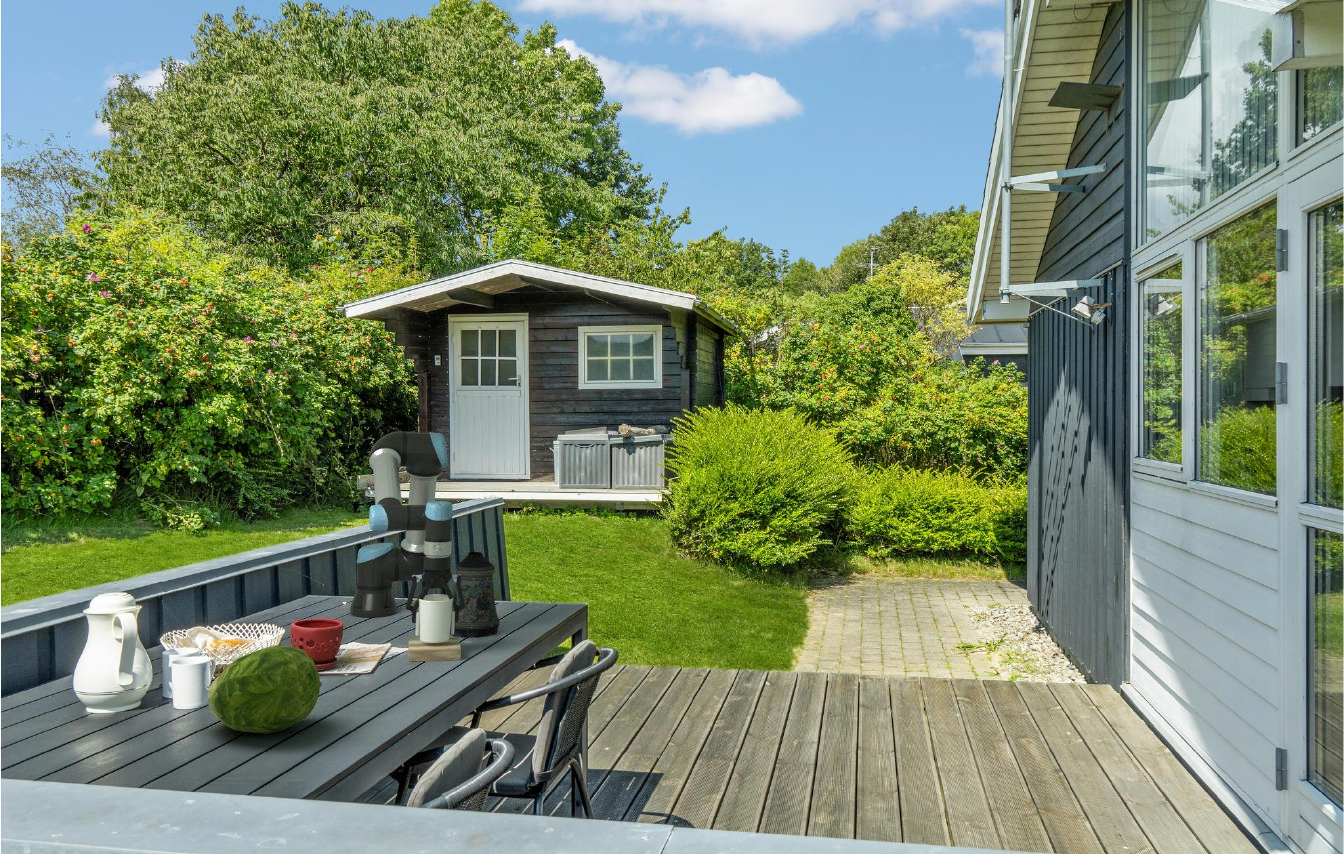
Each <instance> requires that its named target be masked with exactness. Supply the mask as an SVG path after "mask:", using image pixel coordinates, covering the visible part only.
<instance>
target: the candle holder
mask: <svg viewBox="0 0 1344 854" xmlns="http://www.w3.org/2000/svg"><path fill="white" fill-rule="evenodd" d="M452 608H453V598H452V599H450V600H449V598H448V596H447V594H443V593H442V594H441V593H439V594H437V593H434V594H433V593H432V594H426V595H425V597H424V599H423V600H421V599H419V608H418V611H419V631H418V636H419V639H420V640H421V641H422V642H427V643H440V642H445V641H448V640H449V638H451V637H450V636H451V635H450V629H451V619H452Z"/></svg>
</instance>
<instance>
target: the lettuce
mask: <svg viewBox="0 0 1344 854" xmlns="http://www.w3.org/2000/svg"><path fill="white" fill-rule="evenodd" d="M320 690H321V678H320V673H319V671H317V668H316V666H315V663H314V661H313V660H312V659H311V657H310V656H309V655H308V654H307V653H305V652H304V651H303V650H301V649H300V648H296V647H292V646H291V645H285V644H277V645H270V646H268V647H264V648H260V649H258V650H255V651H252V652H250V653H247V654H244V655H243V656H240V657H238V659H235V660H233V661H231V663H230V664H229V665H228V666H227V667H225V668H224V670H223V671H222V672H221V673H220V674H219V675H218V676H217V677H216V678H215V680H214V681H213V682H212V683H211V684H210V688H209V690H208V692H207V704H208V707H209V709H210V712H211V714H212V715H214V716H215V717H216V718H217V719H218V720H219V721H221V722H222V723H223V725H225V726H226V727H227V728H230V729H232V730H233V731H238V732H239V731H240V732H245V733H252V732H253V733H254V734H256V733H257V734H263V735H265V734H267V735H270V734H269V733H271V734H274V733H275V734H276V733H279V732H282V731H284V730H286V729H289V728H292V726H294V725H296V724H297V723H299V722H301V721H303V720H305V719H307V718H308V717H309V716H310V714H311V712H313V710H314V708H315V707H316V704H317V701H318V698H319V696H320Z"/></svg>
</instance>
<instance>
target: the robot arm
mask: <svg viewBox="0 0 1344 854" xmlns="http://www.w3.org/2000/svg"><path fill="white" fill-rule="evenodd" d="M368 456H369V459H368V461H369V466H370V467H371V470H373V471H372V472H373V485H374V487H373V488H374V502H375V504H374V505H371V506H370V507H369V512H368V513H369V514H368V515H369V516H368V518H369V519H368V527H369V529H370V530H371V531H375V532H377V531H378V532H402V531H406V533H405V538H404V539H403V540H402V541H401V543H400V547H399V546H397V547H395V545H394V543H392V542H378V543H372V544H367V545H364V546H362V547H361V548H359V550H358V552H357V559H356V564H357V570H356V586H355V587H356V591H355V594H354V595H353V598H352V601H351V603H350V605H349V608H350V609H349V610H350V611H349V614H350V615H351V616H354V617H355V616H356V617H361V618H381V617H382V618H383V617H387V616H392V615H395V614H396V613H397V609H398V605H397V602H396V599H395V595H394V591H393V583H394V582H412V583H411V585H410V586H411V587H410V590H409V594H408V597H407V601H406V604H405V610H406V611H410V612H411V623H412V624H415V636H419V599H421V600H423V599H424V597H425V595H427V594H428V592H429V590H430V589H431V590H432V589H433V590H434V589H439V590H440V589H443V590H444V592H445V593H446V594H445V595H447V596H448V598H449V600H450V599H452V598H453V608H454V610H452V619H451V635H450V636H452V634H454V622H458V620H459V611H460V610H461V609H465V602H464V597H463V593H462V588H461V575H460V574H456V573H455V574H453V572H452V571H451V569H452V568H451V566H452V565H451V564H452V557H451V556H450V555H451V554H452V537H453V536H452V533H453V516H454V512H453V508H454V507H453V504H452V502H450V501H445V500H436V490H437V478H438V477H439V476H441V475H442V473H443V471H442V470H443V469H445V468H447V467H448V449H447V442H446V438H445V436H444V434H442V433H440V432H432V431H429V432H428V431H392V432H389V433H387V434H385V435H383V436H382V437H380V438H379V439H378V440H377V441H376V442H375V443H374V444H373V446H372V447H371V450H370V451H369V455H368ZM400 467H401V468H405V472H406V474H408V475H409V490H408V492H409V493H408V502H407V503H408V504H403V501H402V491H401V483H400V481H401V480H400V472H399V471H400V470H399V468H400ZM452 579H453V580H452ZM451 580H452V581H453V582H454V583H455V587H456V586H457V591H458V595H459V600H460V605H457V603H456V601H455V599H454V594H453V593H452V591H451V589H450V588H449V584H448V583H449V582H450V581H451ZM420 582H423V583H424V586H423V589H421V591H420V593H419V595H418V597H417V599H416V600H415V602H414V604H413V600H414V596H415V593H416V589H417V585H418V583H420ZM412 604H413V605H412Z"/></svg>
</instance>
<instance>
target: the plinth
mask: <svg viewBox="0 0 1344 854" xmlns="http://www.w3.org/2000/svg"><path fill="white" fill-rule="evenodd" d="M408 651H409V652H408ZM408 651H407V652H408V663H414V662H415V661H417V662H415V663H419V662H418V661H425V662H443V661H442V660H451V661H456V660H455V659H462V647H461V644H460V640H459V637H456V636H453V637H450V638H449V640H448V641H445V642H440V643H427V642H422V641H421V640H420V638H408ZM453 659H454V660H453ZM439 660H441V661H439ZM412 661H414V662H412Z"/></svg>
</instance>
